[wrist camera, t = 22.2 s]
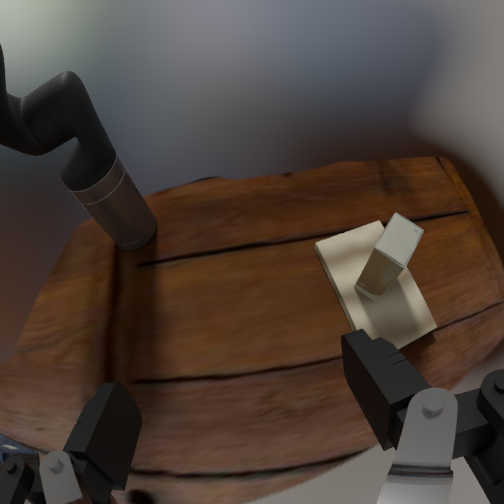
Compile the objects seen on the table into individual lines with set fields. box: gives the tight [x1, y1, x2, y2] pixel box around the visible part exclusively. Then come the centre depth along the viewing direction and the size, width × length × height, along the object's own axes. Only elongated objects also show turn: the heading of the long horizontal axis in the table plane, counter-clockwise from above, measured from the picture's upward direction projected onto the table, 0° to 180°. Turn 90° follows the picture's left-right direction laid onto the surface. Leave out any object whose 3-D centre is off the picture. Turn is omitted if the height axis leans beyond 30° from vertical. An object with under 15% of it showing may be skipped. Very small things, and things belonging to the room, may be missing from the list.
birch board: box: [315, 221, 437, 349], centre depth 40 cm, size 20×12×2 cm, turn 18°
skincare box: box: [354, 213, 423, 302], centre depth 34 cm, size 6×4×12 cm
